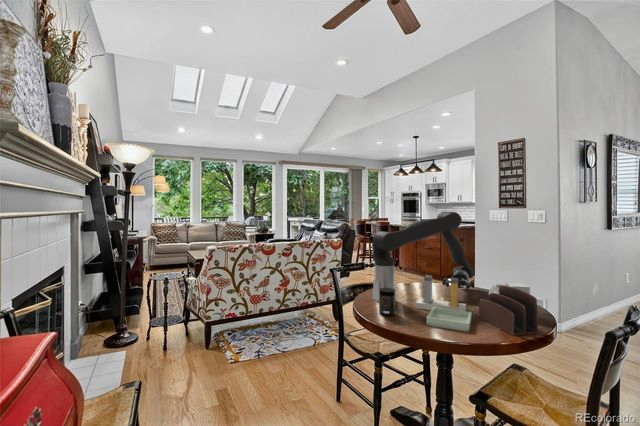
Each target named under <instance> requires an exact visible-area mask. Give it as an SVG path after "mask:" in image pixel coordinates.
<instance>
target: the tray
mask: <svg viewBox="0 0 640 426" xmlns="http://www.w3.org/2000/svg"><path fill="white" fill-rule="evenodd" d="M472 316H473V312H472V311H467V310H466V311H461V310H453V309H446V308H438V307H433V308H432V309H431V310H429V313H428V314H427V315H426V326H429V327H436V328H441V329H448V330H454V331H461V332H467V333H469V332H470V331H471V330H470V329H471V324H472Z"/></svg>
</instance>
